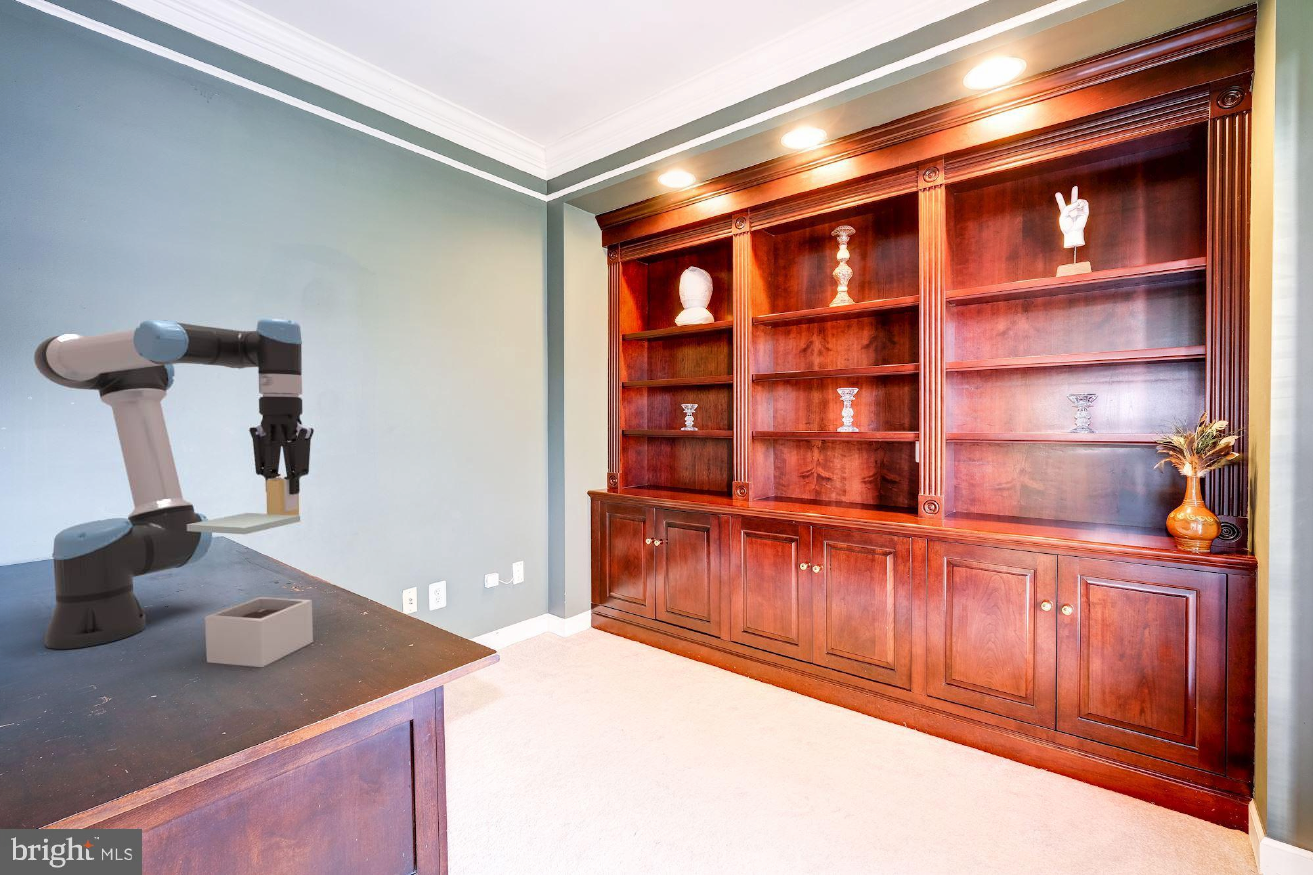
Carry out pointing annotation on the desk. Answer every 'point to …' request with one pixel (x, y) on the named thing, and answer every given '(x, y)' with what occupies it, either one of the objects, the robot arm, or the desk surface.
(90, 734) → the desk surface
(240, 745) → the desk surface
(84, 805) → the desk surface
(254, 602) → the tub
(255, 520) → the lid
